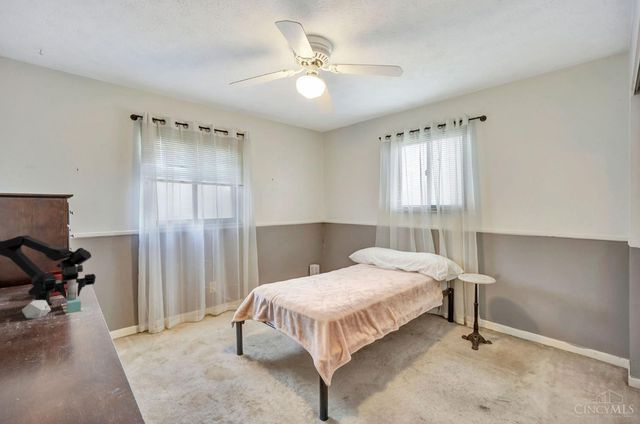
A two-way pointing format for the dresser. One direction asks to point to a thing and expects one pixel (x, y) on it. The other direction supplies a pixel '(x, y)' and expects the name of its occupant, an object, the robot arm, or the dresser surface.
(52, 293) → the plant pot
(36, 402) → the dresser surface
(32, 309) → the die
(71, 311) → the cube
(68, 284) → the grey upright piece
